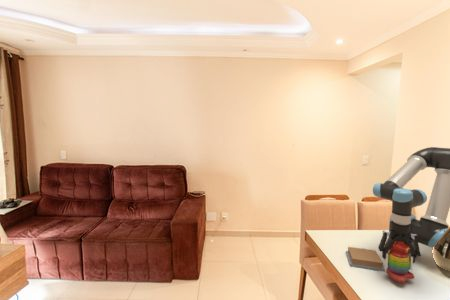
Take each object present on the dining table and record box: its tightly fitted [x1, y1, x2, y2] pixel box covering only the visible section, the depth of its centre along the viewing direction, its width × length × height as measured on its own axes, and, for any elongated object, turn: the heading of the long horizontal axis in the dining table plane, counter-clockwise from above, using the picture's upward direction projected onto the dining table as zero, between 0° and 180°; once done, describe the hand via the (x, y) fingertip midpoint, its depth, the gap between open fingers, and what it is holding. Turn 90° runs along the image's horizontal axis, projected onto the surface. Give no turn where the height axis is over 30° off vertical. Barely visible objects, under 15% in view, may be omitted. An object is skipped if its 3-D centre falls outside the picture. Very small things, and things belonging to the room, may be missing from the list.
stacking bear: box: [385, 241, 415, 284], centre depth 117 cm, size 11×10×18 cm
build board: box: [345, 246, 386, 273], centre depth 134 cm, size 16×14×4 cm
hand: (397, 266), depth 118 cm, fingers closed on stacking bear, 9 cm apart
